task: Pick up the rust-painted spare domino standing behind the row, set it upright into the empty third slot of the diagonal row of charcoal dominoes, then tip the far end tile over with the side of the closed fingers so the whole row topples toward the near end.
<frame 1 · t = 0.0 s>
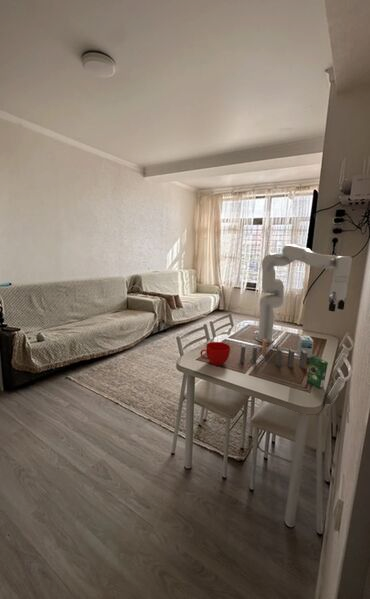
hand: (336, 310, 155), 31 cm above the table, fingers open, 9 cm apart
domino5: (289, 365, 156), on the table
light bulb box: (303, 354, 173), on the table
domino6: (302, 366, 155), on the table
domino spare: (263, 354, 171), on the table
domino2: (253, 361, 159), on the table
domino4: (277, 364, 157), on the table
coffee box: (315, 384, 136), on the table
domino1: (242, 360, 160), on the table
ceramic cup: (213, 364, 154), on the table
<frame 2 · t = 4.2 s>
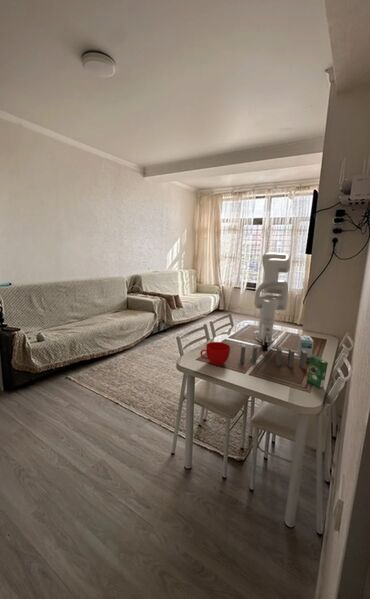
hand: (264, 349, 170), 3 cm above the table, fingers closed on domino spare, 4 cm apart
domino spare: (263, 354, 171), on the table, touching gripper
everything else where it was.
when the fingers open (4 cm above the table, at t = 9.1 s): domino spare stays where it is, on the table.
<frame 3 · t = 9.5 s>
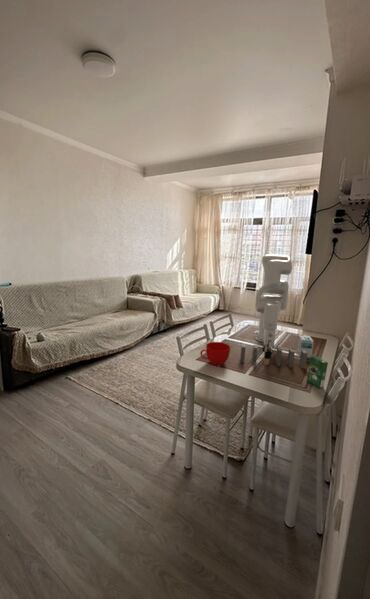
hand: (266, 355, 157), 5 cm above the table, fingers open, 9 cm apart
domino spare: (265, 363, 158), on the table
everything else where it was.
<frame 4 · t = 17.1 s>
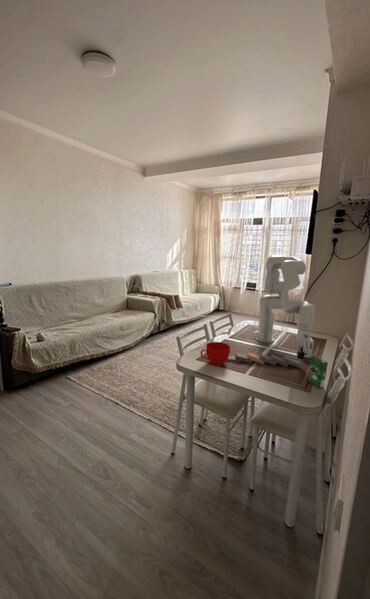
hand: (300, 358, 154), 5 cm above the table, fingers closed
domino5: (286, 363, 156), point 1 cm above the table, tilted 71°, touching domino4
domino6: (299, 364, 155), point 1 cm above the table, tilted 72°
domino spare: (263, 361, 158), point 1 cm above the table, tilted 72°, touching domino4
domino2: (251, 359, 159), point 1 cm above the table, tilted 79°, touching domino1
domino4: (275, 362, 157), point 1 cm above the table, tilted 72°, touching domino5, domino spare
domino1: (239, 360, 160), on the table, tilted 90°, touching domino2
everything else where it was.
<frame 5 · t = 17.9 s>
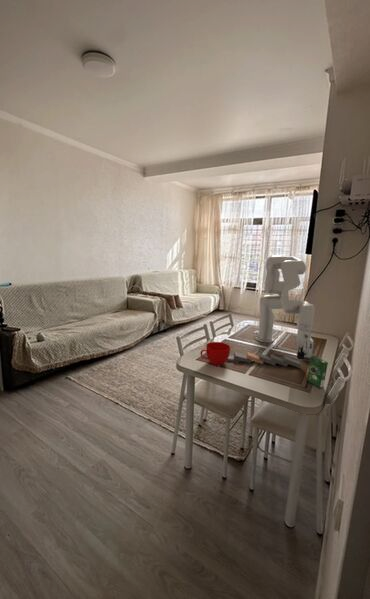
hand: (300, 358, 154), 5 cm above the table, fingers closed
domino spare: (262, 361, 158), point 1 cm above the table, tilted 72°, touching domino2, domino4
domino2: (250, 359, 159), point 1 cm above the table, tilted 77°, touching domino1, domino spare
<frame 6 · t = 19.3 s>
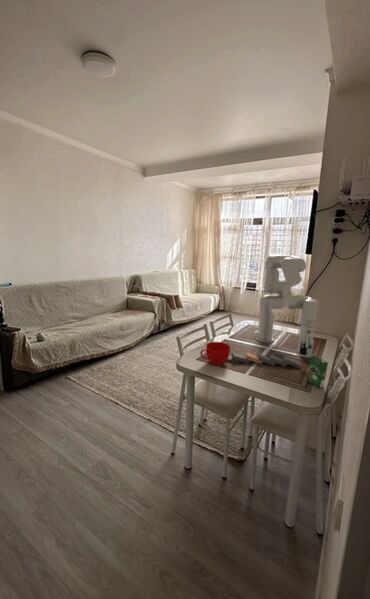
hand: (302, 354, 154), 7 cm above the table, fingers closed
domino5: (285, 363, 156), point 1 cm above the table, tilted 72°, touching domino4, domino6
domino6: (299, 364, 155), point 1 cm above the table, tilted 73°, touching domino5
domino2: (247, 359, 159), point 1 cm above the table, tilted 76°, touching domino1, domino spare
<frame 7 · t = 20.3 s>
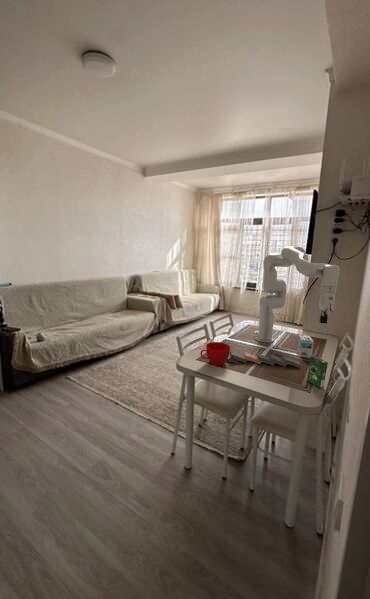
hand: (323, 322, 150), 25 cm above the table, fingers closed
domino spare: (260, 360, 158), point 1 cm above the table, tilted 75°, touching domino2
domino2: (245, 359, 159), point 1 cm above the table, tilted 71°, touching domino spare
domino4: (273, 362, 157), point 1 cm above the table, tilted 73°, touching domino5
domino1: (237, 359, 159), on the table, tilted 90°
everything else where it was.
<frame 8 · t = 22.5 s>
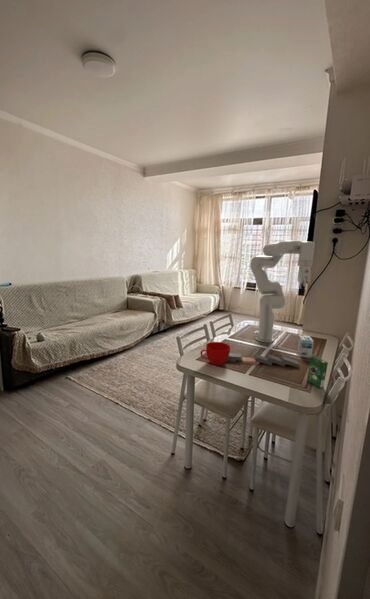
hand: (301, 295, 163), 37 cm above the table, fingers closed
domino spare: (258, 361, 158), on the table, tilted 90°, touching domino4
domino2: (240, 357, 158), point 2 cm above the table, tilted 90°, touching domino1
domino4: (271, 362, 157), point 1 cm above the table, tilted 77°, touching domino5, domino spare
domino1: (235, 359, 159), on the table, tilted 90°, touching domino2
at the end: domino1 tilted 90°; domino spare tilted 90°; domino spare inside the target area (3.8 cm from its centre), on the table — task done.
